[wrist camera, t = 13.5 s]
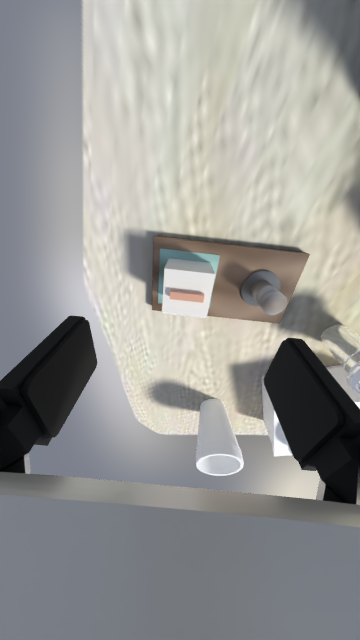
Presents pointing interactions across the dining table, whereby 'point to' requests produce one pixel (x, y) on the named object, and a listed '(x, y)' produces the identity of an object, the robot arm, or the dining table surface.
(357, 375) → the cup with straw
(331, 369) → the butter dish
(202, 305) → the white cube with handle
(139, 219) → the dining table surface
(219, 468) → the foam cup
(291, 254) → the post stand
